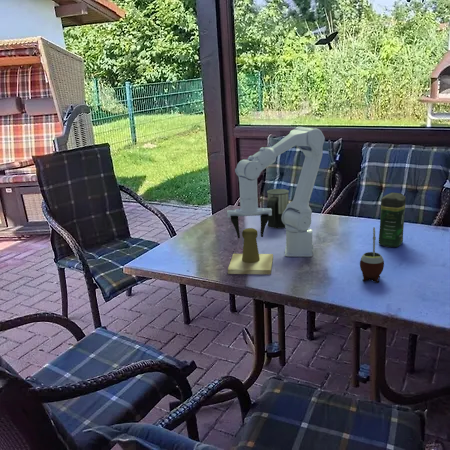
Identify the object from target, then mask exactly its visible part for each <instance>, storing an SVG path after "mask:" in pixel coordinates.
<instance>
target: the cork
mask: <svg viewBox="0 0 450 450" xmlns="http://www.w3.org/2000/svg"><path fill="white" fill-rule="evenodd" d="M258 234H259V233H258V230H257V229H255V228H253V227H249V228H245V229H243V230H242V232H241V236H242V239H243V245H242V246H243V247H242V254H243V255H242V261H243V262H245V263H255V262H258V261H259V260H260V258H259V254H260V253H259V248H258V247H259V246H258V241H257V238H258Z"/></svg>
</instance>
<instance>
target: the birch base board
mask: <svg viewBox="0 0 450 450" xmlns="http://www.w3.org/2000/svg"><path fill="white" fill-rule="evenodd" d="M242 255H243V253H233V254H232V257H231V260H230V262H229V265H228V267H227V274H228V275H271V274H272V268H273V261H274V253H259V258H260V260H259V261H258V262H255V263H245V262H243V261H242Z"/></svg>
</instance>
